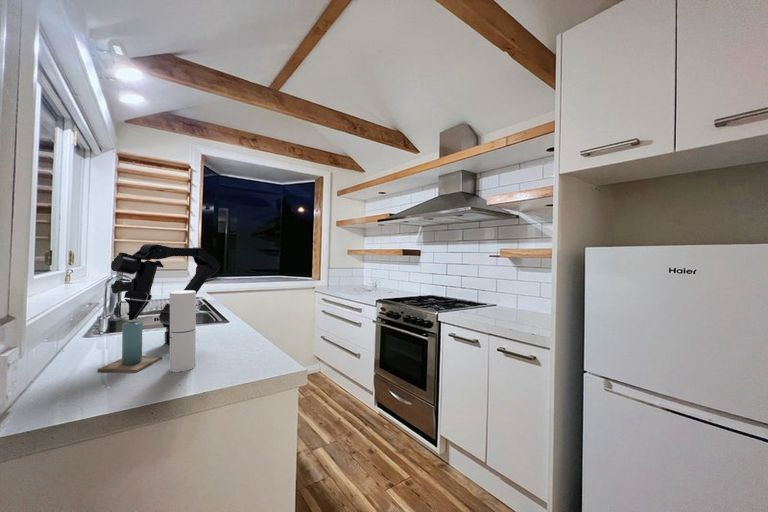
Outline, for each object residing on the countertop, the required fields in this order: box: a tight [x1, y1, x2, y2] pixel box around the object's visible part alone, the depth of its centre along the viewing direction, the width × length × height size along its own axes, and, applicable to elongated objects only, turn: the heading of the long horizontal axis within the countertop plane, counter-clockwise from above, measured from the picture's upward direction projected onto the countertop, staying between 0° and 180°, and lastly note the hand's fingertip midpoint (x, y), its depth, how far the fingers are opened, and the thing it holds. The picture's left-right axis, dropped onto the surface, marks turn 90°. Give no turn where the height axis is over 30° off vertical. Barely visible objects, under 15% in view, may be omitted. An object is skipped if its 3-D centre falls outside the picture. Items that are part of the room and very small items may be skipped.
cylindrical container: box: [169, 289, 197, 373], centre depth 103 cm, size 7×7×25 cm
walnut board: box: [97, 355, 163, 373], centre depth 105 cm, size 12×12×1 cm
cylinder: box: [121, 321, 143, 365], centre depth 105 cm, size 5×5×13 cm
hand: (132, 319), depth 113 cm, fingers open, 9 cm apart
